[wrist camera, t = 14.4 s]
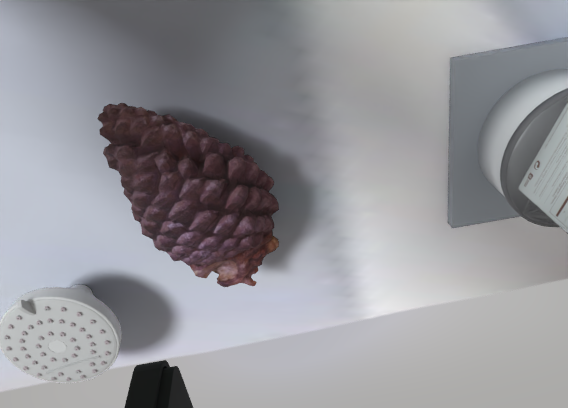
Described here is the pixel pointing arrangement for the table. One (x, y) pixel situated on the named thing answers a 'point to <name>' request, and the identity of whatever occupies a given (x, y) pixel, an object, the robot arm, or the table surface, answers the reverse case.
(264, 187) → the pine cone
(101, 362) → the showerhead
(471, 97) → the duct stub
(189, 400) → the robot arm
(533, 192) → the supplement box
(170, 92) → the table surface
